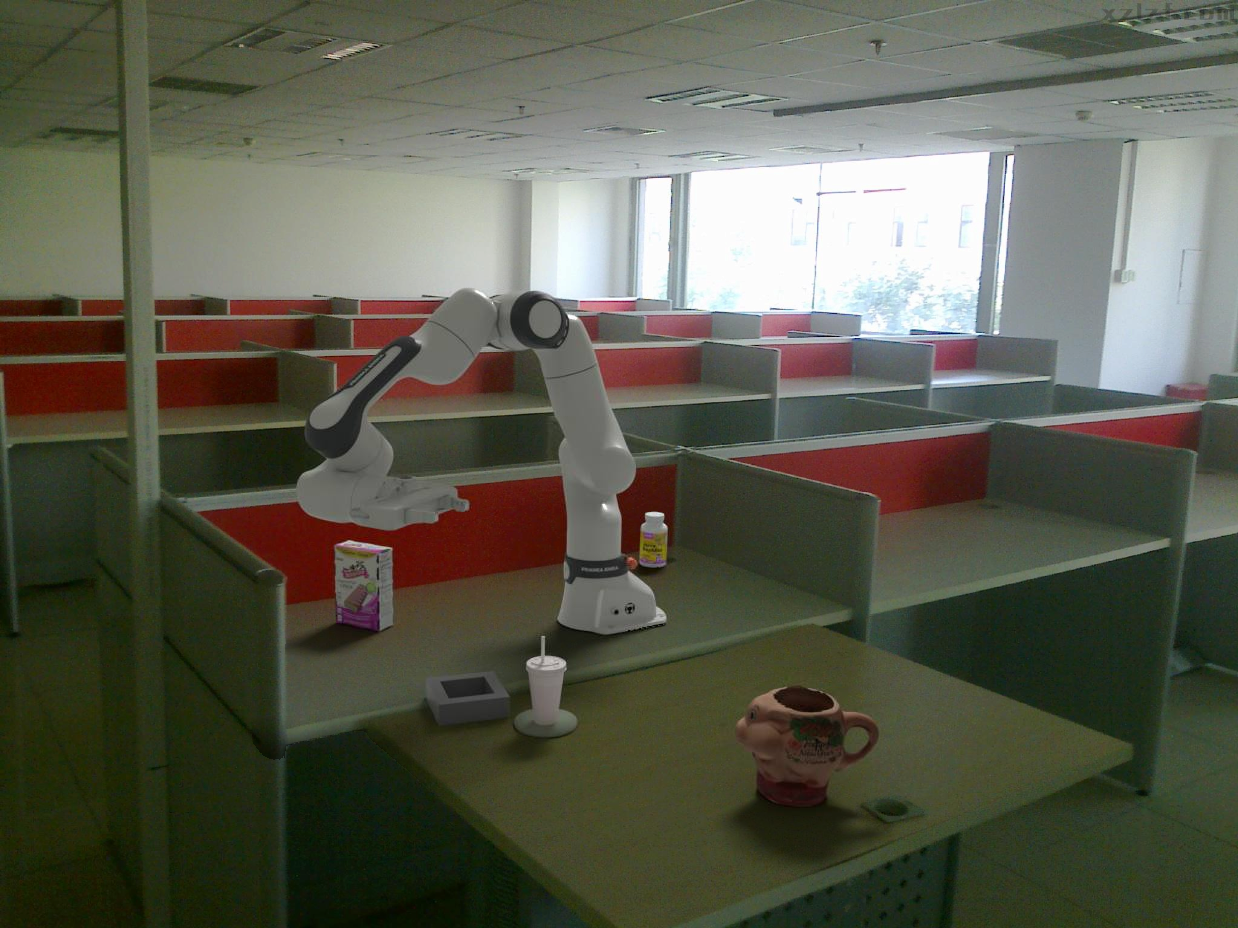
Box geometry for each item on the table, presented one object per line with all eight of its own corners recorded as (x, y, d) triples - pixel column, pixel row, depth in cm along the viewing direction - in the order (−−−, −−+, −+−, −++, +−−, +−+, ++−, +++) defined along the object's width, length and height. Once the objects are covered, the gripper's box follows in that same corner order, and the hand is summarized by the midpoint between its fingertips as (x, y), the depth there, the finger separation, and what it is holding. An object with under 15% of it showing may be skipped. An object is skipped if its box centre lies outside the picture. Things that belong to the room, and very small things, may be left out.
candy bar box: (334, 623, 214) (332, 544, 211) (350, 616, 219) (348, 539, 216) (379, 632, 210) (378, 552, 207) (394, 625, 214) (393, 546, 211)
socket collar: (492, 690, 183) (493, 670, 182) (509, 716, 172) (509, 696, 172) (425, 697, 179) (425, 678, 178) (438, 725, 168) (438, 704, 168)
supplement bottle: (637, 567, 261) (639, 516, 258) (641, 560, 267) (642, 510, 265) (664, 569, 260) (666, 517, 257) (667, 562, 266) (669, 511, 264)
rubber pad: (566, 707, 176) (566, 704, 176) (585, 732, 167) (585, 729, 167) (507, 715, 173) (507, 711, 173) (523, 740, 164) (523, 737, 164)
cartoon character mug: (859, 770, 157) (866, 681, 154) (885, 812, 145) (893, 716, 143) (725, 771, 156) (729, 681, 153) (740, 813, 144) (745, 716, 141)
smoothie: (525, 711, 173) (526, 629, 170) (565, 711, 173) (566, 629, 171) (525, 728, 167) (526, 643, 164) (566, 728, 167) (567, 643, 165)
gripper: (342, 495, 170) (415, 504, 164) (415, 474, 188) (483, 482, 183) (343, 533, 171) (415, 544, 166) (415, 509, 189) (483, 518, 184)
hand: (451, 511), depth 174 cm, fingers open, 8 cm apart
